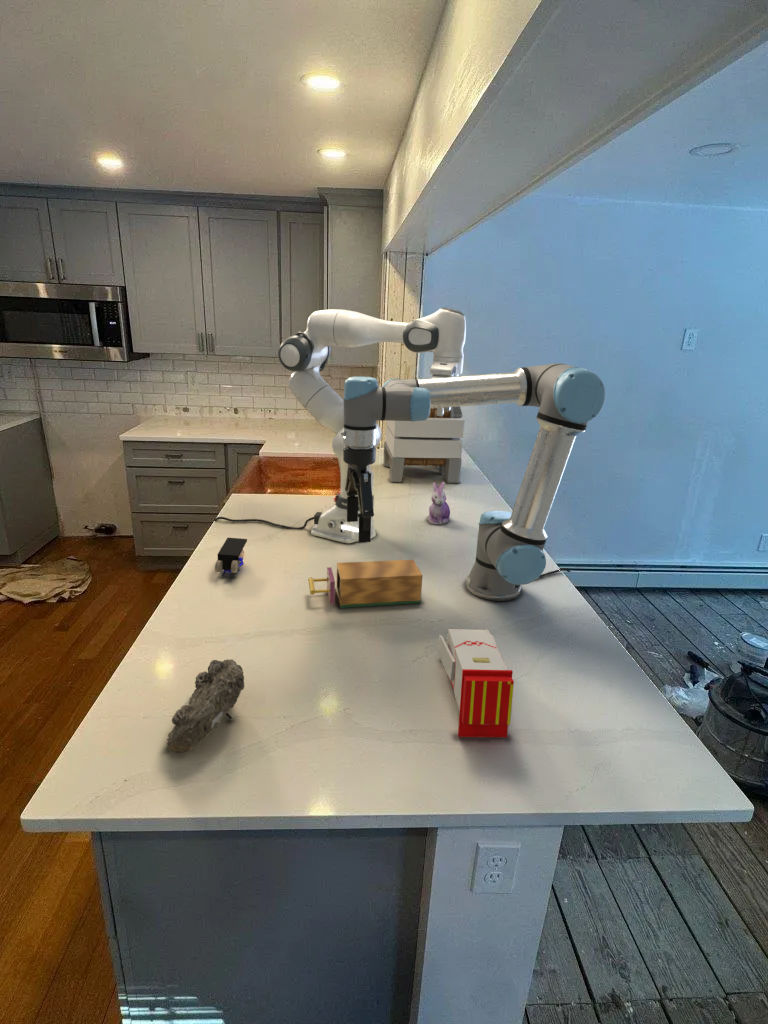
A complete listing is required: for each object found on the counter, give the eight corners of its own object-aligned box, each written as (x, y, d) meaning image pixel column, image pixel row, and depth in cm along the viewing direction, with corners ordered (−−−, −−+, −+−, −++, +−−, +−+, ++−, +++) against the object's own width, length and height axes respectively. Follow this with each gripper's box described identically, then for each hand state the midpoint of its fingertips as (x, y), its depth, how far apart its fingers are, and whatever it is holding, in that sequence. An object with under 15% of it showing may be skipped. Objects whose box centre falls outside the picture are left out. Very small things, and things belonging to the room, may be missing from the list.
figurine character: (238, 584, 162) (249, 557, 175) (236, 562, 158) (247, 536, 172) (215, 584, 161) (227, 556, 175) (212, 561, 158) (225, 535, 171)
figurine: (435, 526, 207) (438, 487, 202) (421, 517, 216) (423, 479, 211) (456, 523, 212) (460, 485, 207) (441, 514, 220) (444, 477, 215)
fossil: (192, 660, 117) (244, 628, 112) (224, 691, 120) (276, 661, 115) (142, 746, 98) (202, 712, 93) (182, 779, 101) (242, 748, 96)
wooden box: (340, 607, 149) (341, 579, 146) (336, 590, 159) (336, 562, 156) (420, 602, 154) (422, 575, 151) (411, 585, 163) (413, 559, 160)
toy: (488, 613, 130) (523, 677, 101) (484, 667, 133) (517, 744, 104) (435, 612, 130) (455, 676, 101) (432, 666, 133) (451, 743, 103)
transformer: (382, 463, 289) (386, 382, 275) (445, 464, 293) (451, 384, 279) (390, 482, 257) (394, 392, 243) (460, 483, 261) (468, 394, 247)
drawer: (310, 605, 148) (310, 582, 146) (308, 589, 156) (308, 568, 154) (406, 599, 153) (407, 578, 151) (399, 584, 161) (400, 564, 159)
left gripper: (445, 363, 177) (441, 407, 182) (428, 368, 159) (425, 417, 164) (464, 364, 176) (460, 409, 180) (450, 370, 157) (446, 420, 162)
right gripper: (333, 434, 141) (333, 514, 148) (355, 460, 119) (353, 552, 126) (363, 433, 143) (361, 512, 150) (389, 458, 121) (386, 550, 128)
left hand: (443, 413), depth 172 cm, fingers open, 8 cm apart
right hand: (358, 531), depth 138 cm, fingers open, 13 cm apart
